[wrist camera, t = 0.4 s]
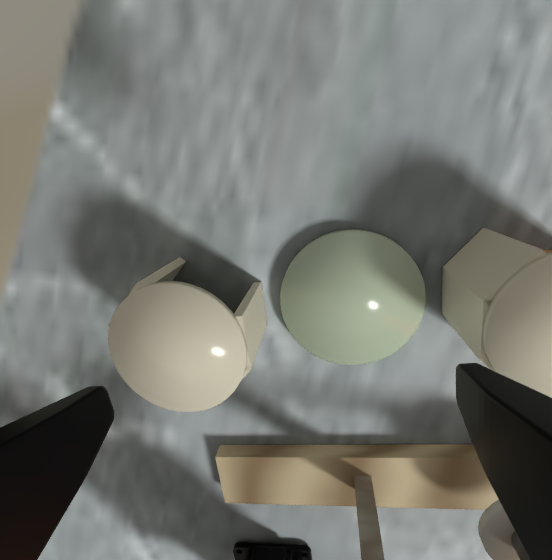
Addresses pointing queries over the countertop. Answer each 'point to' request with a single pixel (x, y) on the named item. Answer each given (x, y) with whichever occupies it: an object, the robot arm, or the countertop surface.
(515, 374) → the cover
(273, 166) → the countertop surface
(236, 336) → the cover
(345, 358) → the dish
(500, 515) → the balance
